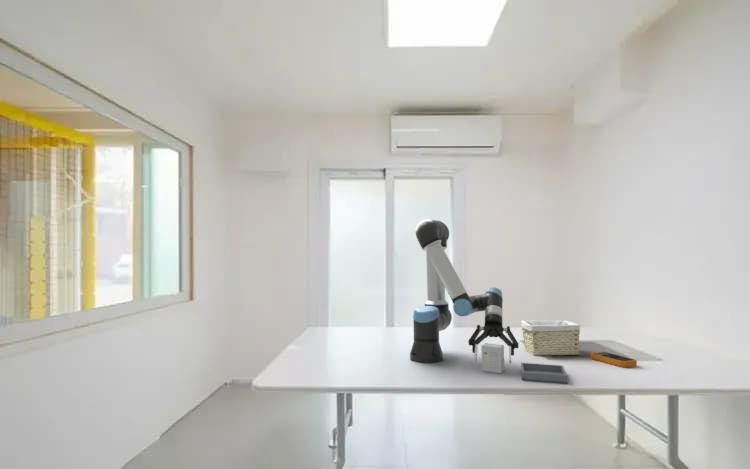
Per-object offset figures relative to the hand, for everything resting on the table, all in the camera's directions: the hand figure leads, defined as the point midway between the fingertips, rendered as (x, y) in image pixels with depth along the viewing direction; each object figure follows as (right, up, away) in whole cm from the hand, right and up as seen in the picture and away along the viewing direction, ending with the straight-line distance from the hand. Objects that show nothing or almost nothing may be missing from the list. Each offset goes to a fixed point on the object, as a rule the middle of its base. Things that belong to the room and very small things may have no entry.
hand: (492, 360), depth 176 cm
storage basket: (+38, -7, +35) cm, 52 cm away
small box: (+1, -5, +2) cm, 5 cm away
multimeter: (+58, -6, +15) cm, 60 cm away
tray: (+18, -4, -7) cm, 20 cm away
